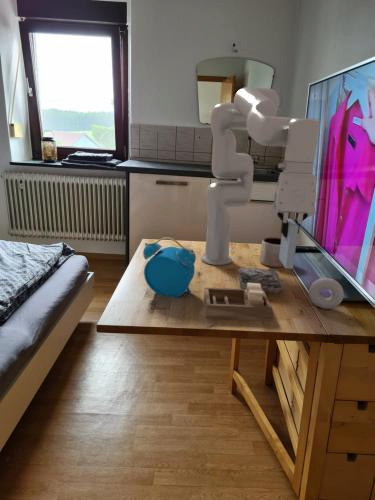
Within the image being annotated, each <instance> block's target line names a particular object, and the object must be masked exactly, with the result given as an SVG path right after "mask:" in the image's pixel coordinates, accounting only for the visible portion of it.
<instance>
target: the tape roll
mask: <svg viewBox="0 0 375 500" xmlns="http://www.w3.org/2000/svg"><path fill="white" fill-rule="evenodd" d="M322 290H329V291H330V292H331V295H330V296H329V297H324V296H322V295H321V292H322ZM344 293H345V292H344V289H343V287H342V285H341V284H340V283H339V282H338V281H336V280H335V279H332V278H330V277H321V278H318V279H316V280H315V281H313V282H312V284H311V285H310V287H309V289H308V296H309V298H310V299H309V300H310V301H311V302H312V303H313V305H315V306H316V307H318V308H320V309H323V310H325V309H327V310H330V309H333V308H335V307H338V306H339V305H340V304H341V302H342V301H343V299H344Z"/></svg>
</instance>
